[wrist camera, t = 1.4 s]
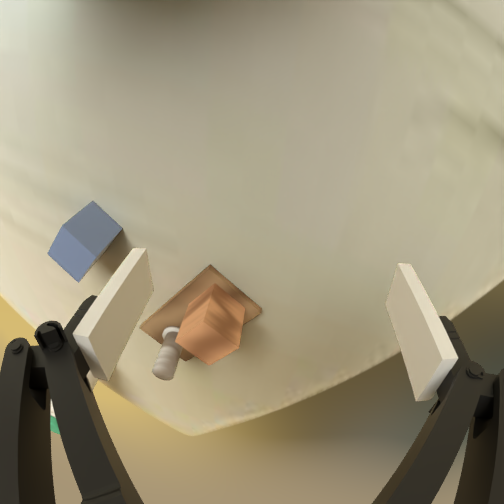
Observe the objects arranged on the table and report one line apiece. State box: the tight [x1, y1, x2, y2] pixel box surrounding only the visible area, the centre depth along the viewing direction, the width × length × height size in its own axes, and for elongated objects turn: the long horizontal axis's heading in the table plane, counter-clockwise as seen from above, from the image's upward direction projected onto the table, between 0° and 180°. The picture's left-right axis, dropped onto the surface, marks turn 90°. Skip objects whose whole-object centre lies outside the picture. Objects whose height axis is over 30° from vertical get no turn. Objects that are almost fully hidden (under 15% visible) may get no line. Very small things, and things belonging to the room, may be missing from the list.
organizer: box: [140, 265, 262, 380], centre depth 44 cm, size 10×18×9 cm, turn 135°
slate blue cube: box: [48, 201, 122, 283], centre depth 38 cm, size 6×6×8 cm
